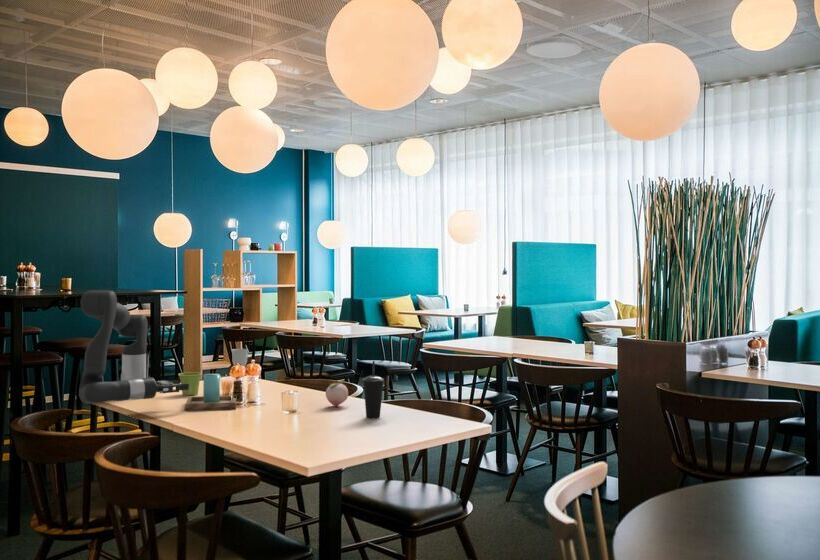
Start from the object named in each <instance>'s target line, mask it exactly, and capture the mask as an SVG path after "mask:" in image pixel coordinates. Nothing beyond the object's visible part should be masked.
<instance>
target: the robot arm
mask: <svg viewBox="0 0 820 560" xmlns="http://www.w3.org/2000/svg"><path fill="white" fill-rule="evenodd" d="M117 298H118V297H117V294H116V292H114V291H113V290H94V289H93V290H87V291H85V292H84V293H83V294H82V296H81V298H80V307H81V310H82V312H83V314H84V315H85V316H87V317H91V318H95V319H96V320H99V321H100V322H101V326H100V327H99V330H98V331H97V332H96V333H95V336H94V337H92V339H91V340H90V342H89V343H88V345H87V347H86V349H85V353H84V362H83V373H82V376H81V380H80V383H79V389H78V396H79V399H80V400H81V402H82V403H83V404H85V405H87V404H88V405H91V404H95V403H96V404H97V403H103V402H104V403H105V402H111V401H113V402H119V401H121V402H122V401H136V400H137V401H138V400H146V399H147V400H148V399H154V398H155V397H156V395H157V393H159V394H171V393H179V392H180V391H182V390H188V389H189V384H187V383H186V384H181V381H180V380H171V381H170V380H165V379H164V380H155V378H154V377H147V346H148V344H147V343H148V341H147V340H148V339H147V338H148V323H149V322H148V318H147V316H146V315H145V314H131V312H130V311H129V309H128V308H127V307H126V306H125V305H123V304H121V303H120V302H118V299H117ZM112 330H115V331H116V332H117V334H119V335H120V336H121V337H124V338H136V340H135V342H133V343H130V344H129V345H126V346H123V347H122V349H121V373H120V380H114V381H102V378H103V376H104V374H105V373H106V367H107V355H108V348H109V344H110V339H111V335H112ZM174 388H175V389H174Z"/></svg>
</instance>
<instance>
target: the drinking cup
mask: <svg viewBox="0 0 820 560" xmlns="http://www.w3.org/2000/svg"><path fill="white" fill-rule="evenodd" d="M375 363H376V362H375V361H374V360H373V361H372V375H368V376H366V377H365V378H362V381H363V391H364V404H365V407H364V408H365V417H366V418H367V419H372V418H374V419H380V418H381V409H382V398H383V390H384V381H385V378H383V377H381V376H378V375H375V365H376V364H375ZM379 417H380V418H379Z"/></svg>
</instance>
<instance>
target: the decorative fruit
mask: <svg viewBox="0 0 820 560" xmlns="http://www.w3.org/2000/svg"><path fill="white" fill-rule="evenodd" d="M325 397H326V399H327V401H328V402H329V404H330V405H333V406H334V407H338V406H340V405H342V404H343V403H344V402H346V400H347V399H348V397H349V390H348V388H347V386H346V385H345V384H343V383H342V382H338V380H336V381H335V383H330V385H329V386H328V387H326V390H325Z"/></svg>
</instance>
